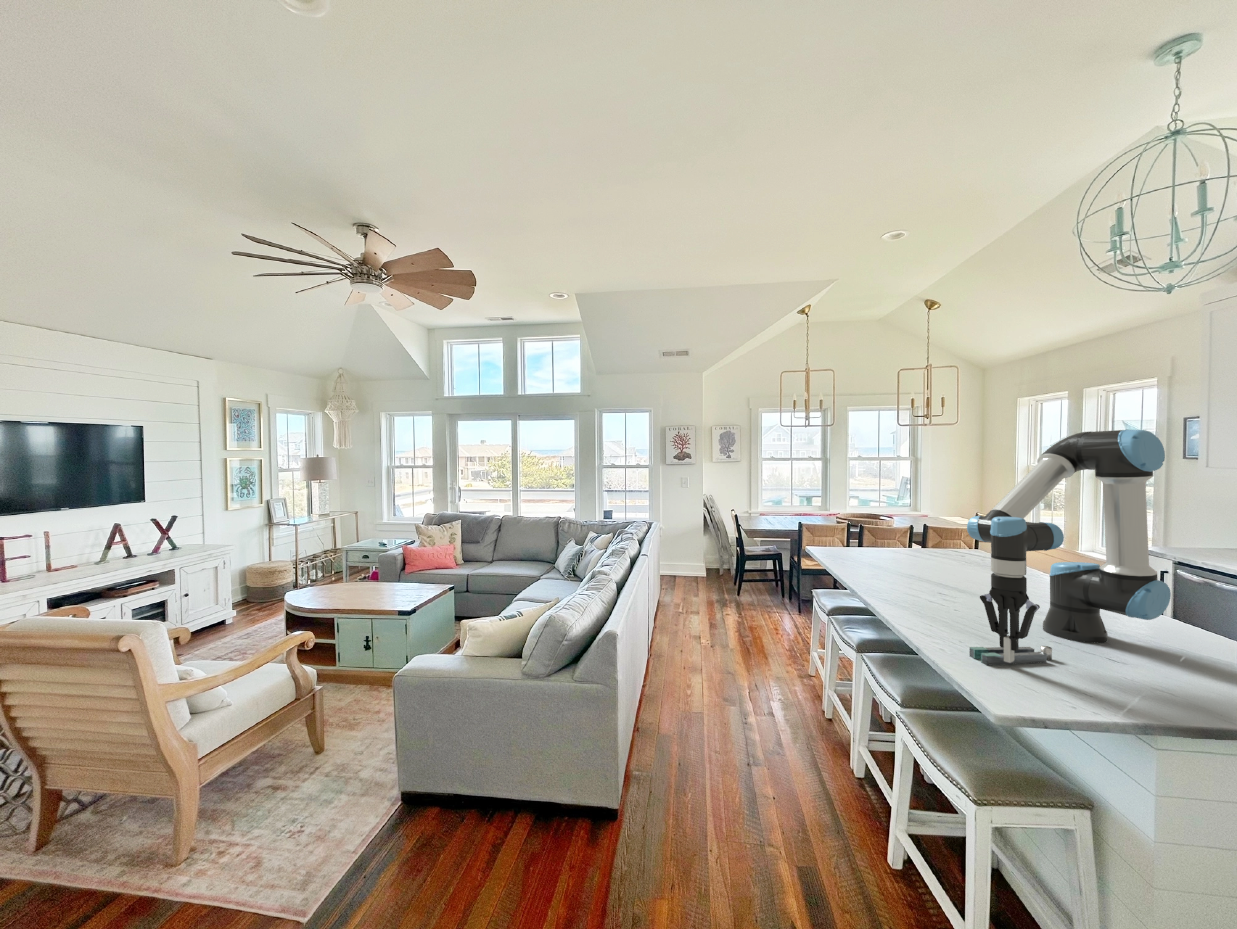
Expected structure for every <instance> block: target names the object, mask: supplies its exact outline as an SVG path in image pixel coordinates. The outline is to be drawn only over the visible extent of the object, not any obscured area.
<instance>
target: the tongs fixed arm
mask: <svg viewBox="0 0 1237 929" xmlns="http://www.w3.org/2000/svg"><path fill="white" fill-rule="evenodd" d="M1028 652H1035V648H1034V647H1031V646H1019V648H1018V650H1017V651H1014V653H1028ZM1040 652H1042V653H1045V654H1047V661H1052V660H1053V647H1051V646H1046V645H1041V646H1040ZM981 653H997V654H1002V653H1004V648H1002V647H1000V646H996V647H992V646H991V647H984V646H969V657H970V658H972V659H974V660H981Z"/></svg>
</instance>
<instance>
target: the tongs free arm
mask: <svg viewBox="0 0 1237 929" xmlns="http://www.w3.org/2000/svg"><path fill="white" fill-rule="evenodd" d="M980 660H981V661H980V662H981V663H982V664H984V665H986V666H998V665H999V666H1002V665H1003V666H1005V665H1029V664H1047V663H1048V660H1047V654H1045V653H1042V652H1041V651H1036V652H1035V651H1034V652H1028V653H1014V661H1013V662H1011V663H1009V662H1005V661H1004V653H1002V654H997V653H981V659H980Z"/></svg>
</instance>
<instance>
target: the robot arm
mask: <svg viewBox="0 0 1237 929" xmlns="http://www.w3.org/2000/svg"><path fill="white" fill-rule="evenodd" d="M1165 453H1166V451H1165V448H1164V446H1163V443H1162V441H1161V440H1160V439H1159V437H1157V436H1156V434H1154V433H1153V432H1151V431H1149V430H1144V429H1120V430H1119V429H1118V430H1097V431H1082V432H1078V433H1074V434H1071V435H1068V436H1066V437H1065V438H1063V439H1061V440H1060V441H1057V442H1056V443H1054V444H1053V445H1052V446H1049V448H1047V449H1046V450H1044V451H1043V453H1042V454H1040V455H1039V457H1038V458H1037V461H1036V462H1037V464H1035V466H1034V467H1033V468H1032V469H1031V470H1029V472H1028V473H1026V475H1025V476H1024V477H1022V478H1021V480H1020V481H1018V483H1016V485H1015V486H1014V487H1012V489H1011V490H1009V492H1008V493H1007V494H1005V495H1004V496H1003V497H1002V498H1001V500H1000V501H999V502H998V503H996V505H994V507H993V508H991V510H990V511H989V512H988V513H987V514H986V515H985V516H984V515H975V516H972V517H970V518H969V520H968V522H967V524H966V531H967V533H968V536H969V537H970V538H972V539H973V540H977V541H979V542H984V543H990V547H991V550H990V551H991V552H990V553H991V554H990V571H991V572H992V573H991V574H990V590H989V593H986V594H985V593H984V594H982V595H979V599H980V600H981V602H982V604H983V605H984V609H985V613H986V617H987V620H988V624H989V627H990V630H991V631H992V632H993V633H996V634H998V636H999V647H1002V648H1004V661H1005V662H1009V663H1011V662H1013V661H1014V651H1017V650H1018V648H1019V647H1020V645H1019V640H1020V639H1025V638H1027V637H1028V635H1029V632H1030V628H1031V626H1032V622H1033V620H1034V617H1035V614H1036V612H1037V611H1038V610H1039V609H1040V605H1039V604H1037V603H1034V602H1033V601H1032V600H1030V598H1029V596H1028V593H1027V591H1028V587H1027V585H1028V584H1027V580H1028V578H1027V577H1026V575H1027V552H1037V551H1039V552H1040V551H1044V552H1045V551H1050V550H1055V549H1058V548H1060V547H1061V546H1062V545H1063V543H1064V539H1065V537H1064V536H1065V535H1064V533H1063V530H1062V528H1060V527H1059V526H1058V525H1056V524H1055V523H1052V522H1044V521H1038V522H1032V521H1031V522H1030V521H1027V520H1026V519H1025V518H1026V517H1027V516H1028V515H1029V514H1030V513H1031V512H1032V511H1033V509H1035V508H1036V507H1037V506H1038V505H1039V504H1040V503H1041V502H1042V501H1043V500H1044V499H1045V498H1046V497H1047V496H1048V495H1049V494H1050V492H1052V491H1053V489H1055V488H1056V487H1057V486H1058V485H1059V484H1060V483H1061V482H1062V481H1063V480H1064V479H1068V478H1070V477H1072V476H1073V475H1074V474H1075V473H1077V472H1079V471H1085V470H1087V471H1094V473H1095V474H1094V475H1095V478H1096V479H1098V480H1099V481H1100V482H1102V494H1103V496H1102V497H1103V517H1104V537H1105V538H1104V539H1105V559H1106V562H1105V563H1103V564H1102V565H1100V564H1099V563H1093V562H1080V561H1064V562H1063V561H1061V562H1055V563H1052V564H1051V566H1050V572H1049V608H1048V610H1047V613H1046V615H1045V618H1044V620H1043V621H1042V630H1043V631H1044V632H1045V633H1047V634H1049V635H1051V636H1054V637H1058V638H1060V639H1063V640H1067V641H1068V640H1069V641H1074V642H1080V643H1086V644H1088V643H1089V644H1104V643H1107V642H1108V641H1109V639H1108V638H1109V634H1108V631H1107V629H1106V627H1105V624H1104V622H1103V619H1102V616H1101V610H1104V611H1106V612H1112V613H1115V614H1120V615H1122V616H1127V617H1128V618H1132V619H1133V618H1135V619H1139V620H1144V621H1145V620H1146V621H1150V620H1154V619H1157V618H1158V617H1160V616H1161V615H1163V614H1164V612H1165V611H1166V610H1167V608H1168V606H1169V605H1170V601H1171V588H1170V587H1169V585H1168V584H1167V583H1166V582H1164V581H1162V580H1159V578H1158V571H1156V569H1154V568H1153V567H1151V566H1150V558H1149V556H1150V553H1149V536H1148V535H1149V534H1148V531H1149V530H1148V511H1147V510H1148V509H1147V506H1148V505H1147V487H1146V483H1147V482H1148V481H1149V480H1150V479H1152V478H1153V477H1154V472H1156V471H1158V470H1160V469H1161V468H1162V467H1163V465H1164V463H1163V462H1165V459H1166V458H1165V457H1166V454H1165ZM993 601H994V603H995V604H996V605H997V611H998V616H997V613H996V610H995V606H994V603H993ZM1024 605H1025V609H1026V611H1025V613H1024V616H1023V619H1022V622H1021V626H1020V611H1021V608H1022V607H1023V606H1024ZM1008 613H1009V616H1008ZM1008 621H1009V622H1008ZM1008 623H1009V624H1008ZM1008 625H1009V626H1008Z"/></svg>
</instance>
